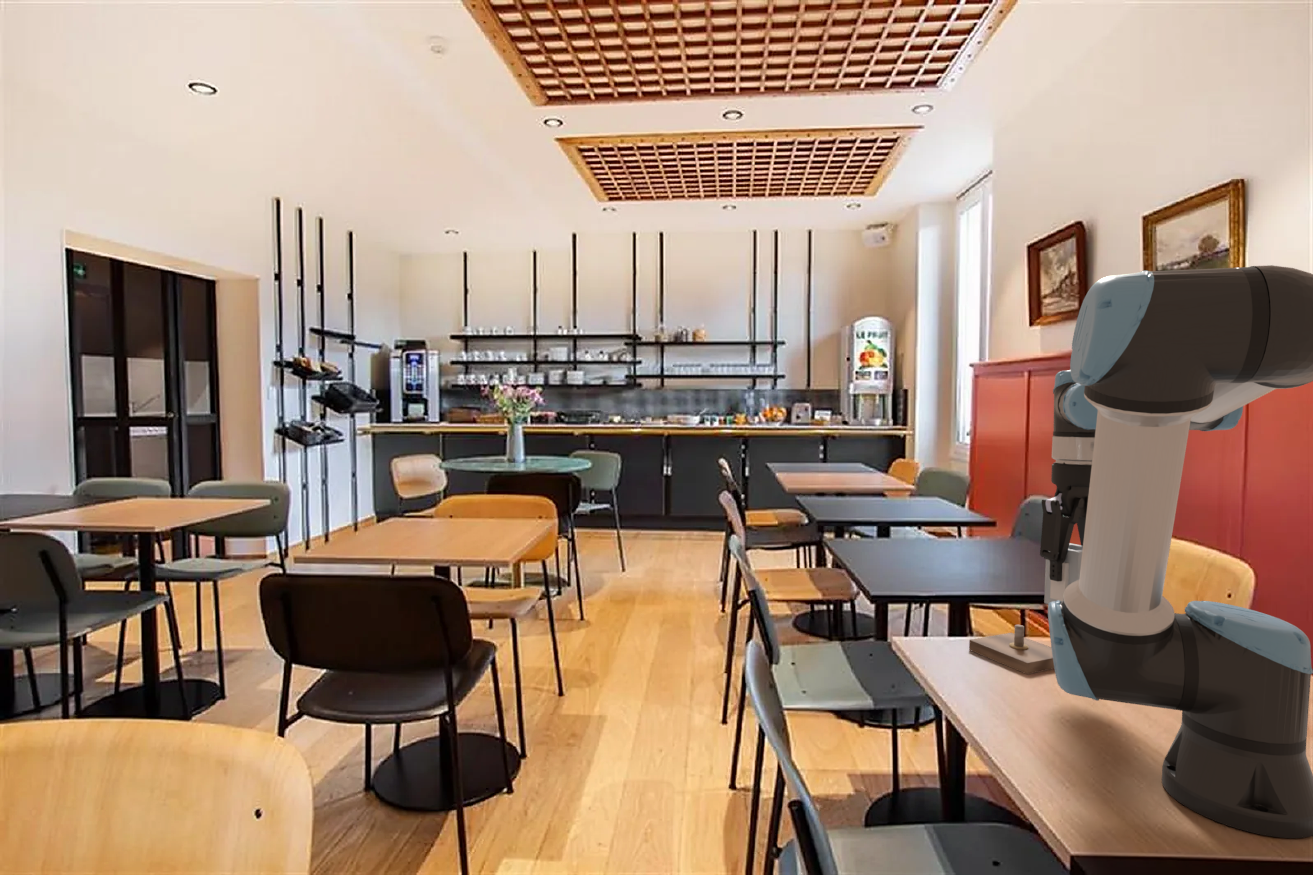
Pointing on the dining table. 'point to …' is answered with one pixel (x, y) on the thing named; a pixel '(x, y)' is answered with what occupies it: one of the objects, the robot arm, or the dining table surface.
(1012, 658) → the wooden peg base
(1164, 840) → the dining table surface
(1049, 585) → the light grey hollow box
